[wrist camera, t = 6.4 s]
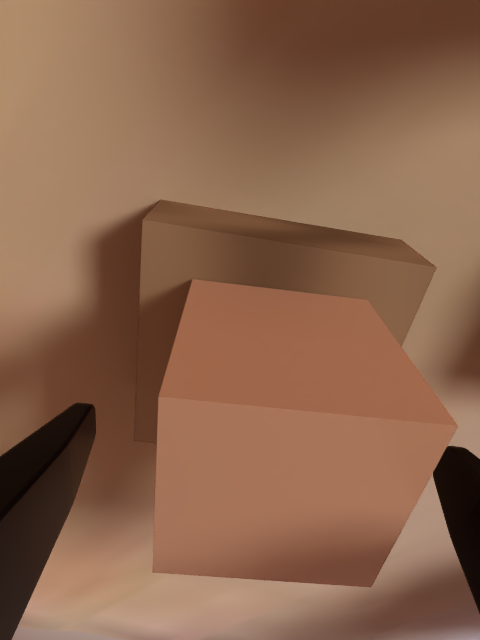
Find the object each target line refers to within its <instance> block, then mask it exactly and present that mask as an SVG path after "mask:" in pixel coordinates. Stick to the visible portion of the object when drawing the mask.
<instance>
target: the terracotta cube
mask: <svg viewBox="0 0 480 640" xmlns="http://www.w3.org/2000/svg"><path fill="white" fill-rule="evenodd" d="M457 427H458V425H457V424H456V422H455V421H454V420H453V418H452V417H451V415H450V414H449V413H448V411H447V410H446V409H445V407H444V406H443V404H442V403H441V402H440V400H439V399H438V397H437V396H436V395H435V393H434V392H433V390H432V389H431V388H430V386H429V385H428V383H427V382H426V381H425V379H424V378H423V377H422V375H421V374H420V372H419V371H418V370H417V368H416V367H415V365H414V364H413V363H412V361H411V360H410V358H409V357H408V356H407V354H406V353H405V351H404V350H403V349H402V347H401V346H400V345H399V343H398V342H397V340H396V339H395V338H394V336H393V335H392V333H391V332H390V331H389V329H388V328H387V326H386V325H385V324H384V322H383V321H382V320H381V318H380V317H379V315H378V314H377V313H376V311H375V310H374V308H373V307H372V306H371V304H370V303H369V301H368V300H364V299H356V298H347V297H339V296H330V295H322V294H314V293H305V292H297V291H288V290H280V289H271V288H263V287H255V286H246V285H238V284H229V283H221V282H213V281H204V280H196V279H192V283H191V286H190V290H189V293H188V296H187V300H186V303H185V307H184V310H183V314H182V317H181V321H180V324H179V328H178V331H177V334H176V338H175V341H174V345H173V348H172V352H171V355H170V359H169V362H168V366H167V369H166V372H165V376H164V379H163V383H162V386H161V390H160V393H159V397H158V426H157V455H156V484H155V513H154V542H153V571H152V572H154V573H169V574H184V575H198V576H213V577H228V578H242V579H257V580H272V581H286V582H301V583H316V584H330V585H345V586H360V587H371V586H372V585H373V583H374V581H375V579H376V577H377V575H378V573H379V572H380V570H381V568H382V566H383V564H384V562H385V560H386V559H387V557H388V555H389V553H390V551H391V549H392V547H393V546H394V544H395V542H396V540H397V538H398V536H399V535H400V533H401V531H402V529H403V527H404V525H405V523H406V522H407V520H408V518H409V516H410V514H411V512H412V510H413V509H414V507H415V505H416V503H417V501H418V499H419V497H420V496H421V494H422V492H423V490H424V488H425V486H426V484H427V483H428V481H429V479H430V477H431V475H432V473H433V471H434V470H435V468H436V466H437V464H438V462H439V460H440V459H441V457H442V455H443V453H444V451H445V449H446V447H447V446H448V444H449V442H450V440H451V438H452V436H453V434H454V433H455V431H456V429H457Z"/></svg>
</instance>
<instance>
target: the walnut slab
mask: <svg viewBox="0 0 480 640" xmlns="http://www.w3.org/2000/svg"><path fill="white" fill-rule="evenodd" d="M436 268H437V267H436V266H434V265H433V264H432V263H430V262H429V261H428V260H427V259H425V258H424V257H423V256H421V255H420V254H419V253H418V252H416V251H415V250H414V249H413V248H411V247H410V246H409V245H407V244H406V243H405V242H404V241H402V240H399V239H393V238H387V237H381V236H375V235H369V234H363V233H357V232H351V231H345V230H339V229H333V228H327V227H321V226H315V225H309V224H303V223H297V222H291V221H285V220H279V219H273V218H267V217H261V216H255V215H249V214H243V213H237V212H231V211H225V210H219V209H213V208H207V207H201V206H195V205H189V204H183V203H177V202H171V201H165V200H160V201H159V202H158V203H157V204H156V206H155V207H154V208H153V209H152V210H151V211H150V212H149V213H148V214H147V215H146V216H145V217H144V218H143V220H142V244H141V270H140V296H139V322H138V348H137V375H136V401H135V427H134V441H142V442H150V443H157V426H158V397H159V393H160V390H161V386H162V383H163V379H164V376H165V372H166V369H167V366H168V362H169V359H170V355H171V352H172V348H173V345H174V341H175V338H176V334H177V331H178V328H179V324H180V321H181V317H182V314H183V310H184V307H185V303H186V300H187V296H188V293H189V290H190V286H191V283H192V279H196V280H204V281H213V282H221V283H229V284H238V285H246V286H255V287H263V288H271V289H280V290H288V291H297V292H305V293H314V294H322V295H330V296H339V297H347V298H356V299H364V300H368V301H369V303H370V304H371V306H372V307H373V308H374V310H375V311H376V313H377V314H378V315H379V317H380V318H381V320H382V321H383V322H384V324H385V325H386V326H387V328H388V329H389V331H390V332H391V333H392V335H393V336H394V338H395V339H396V340H397V342H398V343H399V345H400V346H401V347H402V344H403V342H404V340H405V338H406V335H407V333H408V331H409V329H410V326H411V324H412V322H413V320H414V317H415V315H416V313H417V311H418V308H419V306H420V304H421V302H422V299H423V297H424V295H425V293H426V290H427V288H428V286H429V284H430V281H431V279H432V277H433V275H434V272H435V270H436Z"/></svg>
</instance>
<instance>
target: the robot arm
mask: <svg viewBox="0 0 480 640" xmlns="http://www.w3.org/2000/svg"><path fill="white" fill-rule="evenodd" d="M95 434H96V418H95V407H94V405H92V404H86V403H75V404H73V405H72V406H70V407H69V408H68V409H66V410H65V411H63V412H62V413H61V414H59V415H58V416H56V417H55V418H54V419H52V420H51V421H49V422H48V423H46V424H45V425H44V426H42V427H41V428H39V429H38V430H37V431H35V432H34V433H32V434H31V435H30V436H28V437H27V438H25V439H24V440H23V441H21V442H20V443H18V444H17V445H16V446H14V447H13V448H11V449H10V450H9V451H7V452H6V453H4V454H3V455H1V456H0V640H12V637H13V635H14V633H15V631H16V629H17V626H18V624H19V622H20V620H21V618H22V615H23V613H24V611H25V609H26V607H27V604H28V602H29V600H30V598H31V596H32V593H33V591H34V589H35V587H36V585H37V582H38V580H39V578H40V576H41V574H42V571H43V569H44V567H45V565H46V562H47V560H48V558H49V556H50V554H51V551H52V549H53V547H54V545H55V543H56V540H57V538H58V536H59V534H60V532H61V529H62V527H63V525H64V523H65V521H66V518H67V516H68V514H69V512H70V509H71V507H72V505H73V502H74V500H75V497H76V494H77V491H78V488H79V485H80V482H81V479H82V476H83V473H84V470H85V467H86V463H87V460H88V457H89V454H90V451H91V448H92V445H93V442H94V439H95ZM433 478H434V481H435V485H436V489H437V492H438V496H439V499H440V503H441V506H442V510H443V513H444V517H445V520H446V524H447V527H448V531H449V534H450V537H451V540H452V543H453V546H454V548H455V551H456V554H457V556H458V559H459V561H460V564H461V566H462V569H463V572H464V574H465V577H466V579H467V582H468V585H469V587H470V590H471V592H472V595H473V598H474V600H475V603H476V605H477V608H478V611H479V613H480V459H479V458H478V457H476V456H475V455H474V454H472V453H471V452H470V451H469V450H467V449H466V448H463V447H456V446H448V447H446V449H445V451H444V453H443V455H442V457H441V459H440V460H439V462H438V464H437V466H436V468H435V470H434V471H433Z"/></svg>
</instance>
